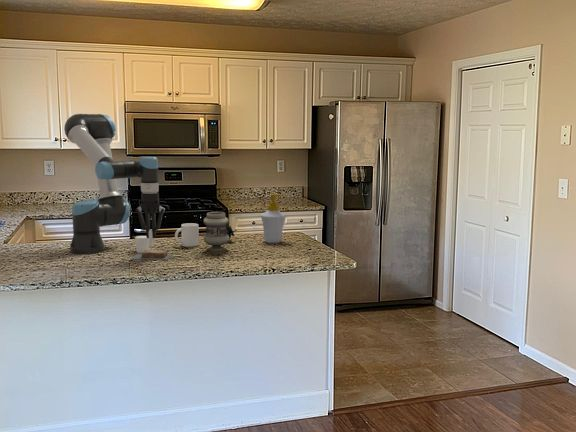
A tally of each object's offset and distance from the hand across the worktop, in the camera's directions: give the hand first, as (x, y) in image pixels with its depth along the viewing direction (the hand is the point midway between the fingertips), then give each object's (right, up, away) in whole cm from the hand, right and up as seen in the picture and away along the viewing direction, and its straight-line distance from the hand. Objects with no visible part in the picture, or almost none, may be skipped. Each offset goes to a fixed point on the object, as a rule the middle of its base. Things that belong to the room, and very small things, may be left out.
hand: (151, 245), depth 252 cm
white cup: (-7, -4, +13) cm, 15 cm away
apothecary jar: (+27, -3, +16) cm, 31 cm away
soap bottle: (+53, 0, +38) cm, 65 cm away
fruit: (+27, 0, +37) cm, 46 cm away
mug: (+11, -2, +27) cm, 29 cm away
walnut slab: (-4, -4, 0) cm, 5 cm away
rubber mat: (0, -5, +1) cm, 5 cm away
